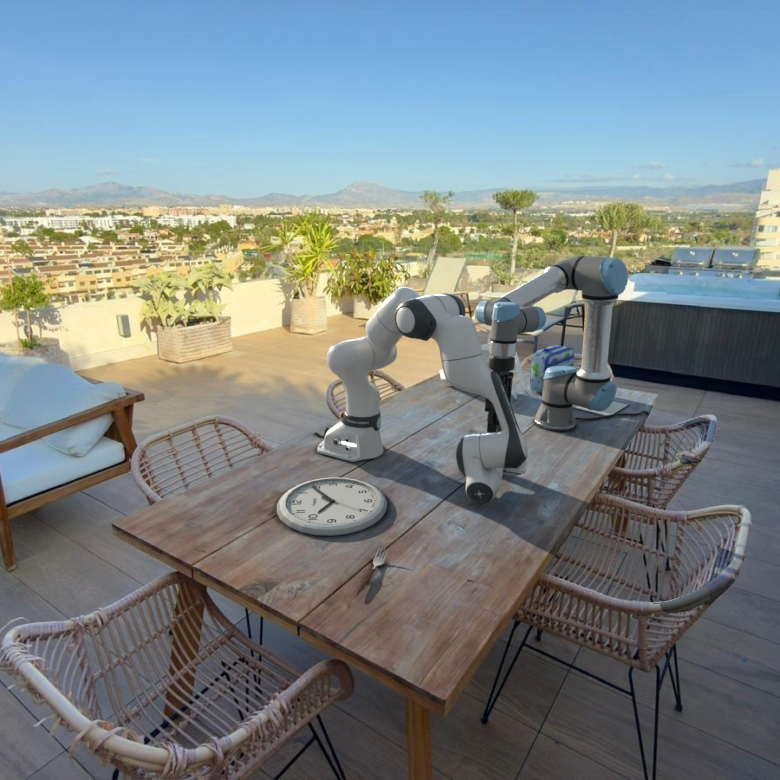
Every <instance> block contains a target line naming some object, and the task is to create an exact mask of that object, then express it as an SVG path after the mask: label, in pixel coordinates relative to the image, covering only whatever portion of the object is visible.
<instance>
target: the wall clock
mask: <svg viewBox="0 0 780 780" xmlns="http://www.w3.org/2000/svg"><path fill="white" fill-rule="evenodd" d="M387 509H388V500H387V498H386V496H385V494H384V493H383V492H382V491H381V490H380V489H379V488H377V487H376V486H374V485H372V484H371V483H369V482H365V481H362V480H359V479H355V478H349V477H338V476H337V477H335V476H333V477H332V476H331V477H322V478H317V479H312V480H307V481H305V482H302V483H299V484H297V485H295V486H293V487H292V488H290V489H288V490H287V491H286V492H285V493H284V494H283V495H281V496H280V498H279V499H278V502H277V503H276V515H277V517H278V518H279V520H280V521H281V522H282V523H283V524H285V525H286V526H287V527H288V528H290V529H293V530H295V531H297V532H299V533H303V534H308V535H312V536H327V537H328V536H329V537H331V536H332V537H333V536H342V535H350V534H352V533H356V532H361V531H363V530H366V529H368V528H369V527H372V526H373V525H375V524H376V523H378V522H379V521H380V520H381V519H382V518H383V517H384V516H385V514H386V512H387Z"/></svg>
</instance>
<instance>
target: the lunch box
mask: <svg viewBox="0 0 780 780" xmlns="http://www.w3.org/2000/svg"><path fill="white" fill-rule="evenodd" d="M574 363H575V348H573V347H571V346H570V347H568V346H563V345H551V346H548V347H544V348H543V349H539V350H536V351H535V352H534V354H533V356H532V358H531V363H530V374H529V391H532V392H536V393H540V394H542V391H543V382H544V379H543V378H544V374H545V371H546V369H547V368H550V367H554V366H572V367H574Z"/></svg>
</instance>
